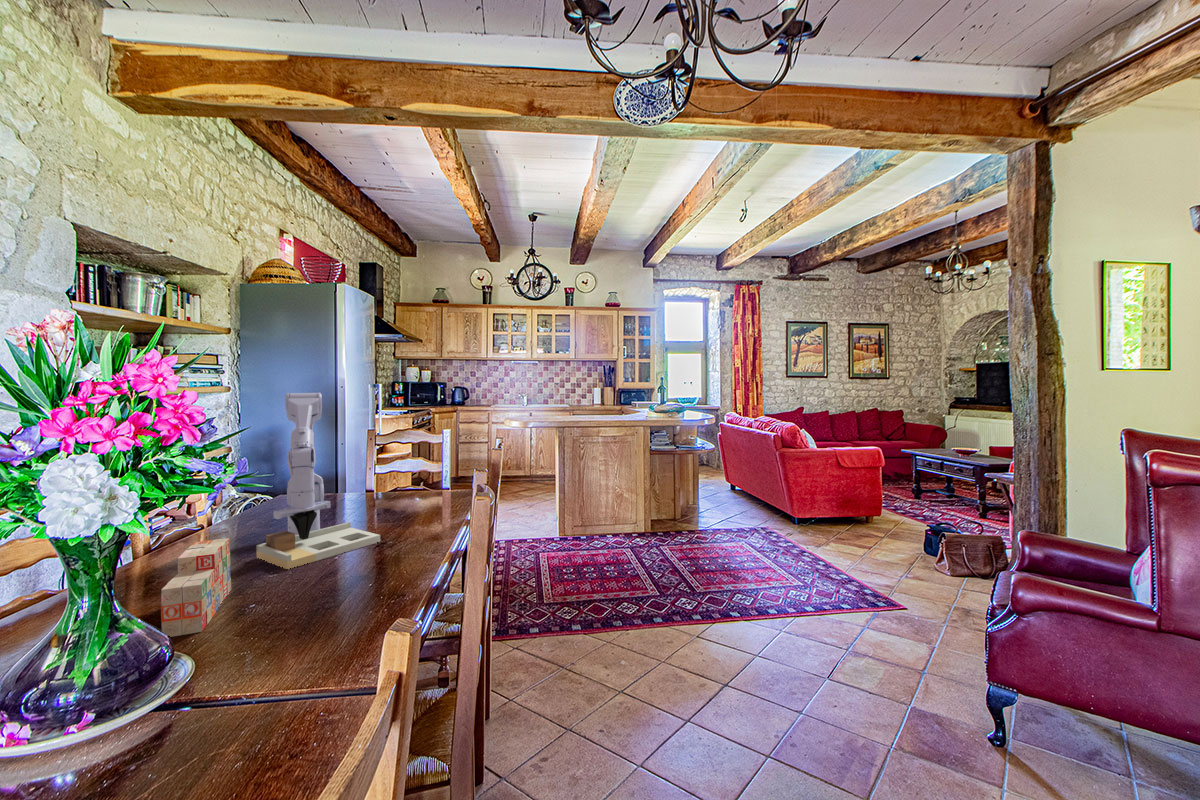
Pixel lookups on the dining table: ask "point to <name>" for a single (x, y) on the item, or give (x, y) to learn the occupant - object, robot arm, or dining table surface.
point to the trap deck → (318, 546)
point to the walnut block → (281, 541)
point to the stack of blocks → (196, 587)
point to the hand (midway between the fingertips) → (303, 538)
